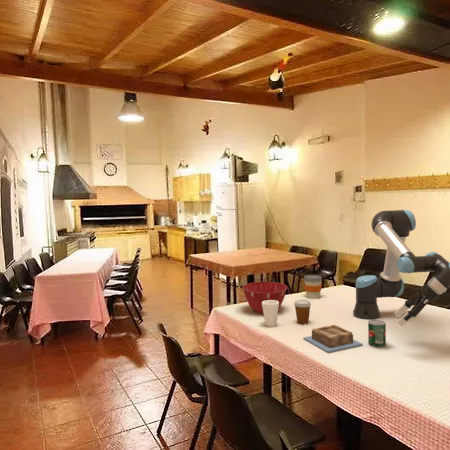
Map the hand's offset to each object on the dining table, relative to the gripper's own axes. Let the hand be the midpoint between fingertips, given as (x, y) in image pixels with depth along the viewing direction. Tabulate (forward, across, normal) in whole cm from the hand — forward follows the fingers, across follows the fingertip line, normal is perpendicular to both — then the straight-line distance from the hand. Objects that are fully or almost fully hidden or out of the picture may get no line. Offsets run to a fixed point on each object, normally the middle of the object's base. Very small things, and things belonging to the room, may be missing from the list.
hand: (397, 319), depth 188 cm
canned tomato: (+16, +1, -3) cm, 16 cm away
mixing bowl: (+61, +47, +43) cm, 88 cm away
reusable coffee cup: (+43, +85, +24) cm, 98 cm away
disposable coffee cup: (+43, +27, +24) cm, 56 cm away
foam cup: (+55, +19, +36) cm, 68 cm away
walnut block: (+30, -1, +12) cm, 33 cm away
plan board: (+30, -1, +12) cm, 33 cm away
